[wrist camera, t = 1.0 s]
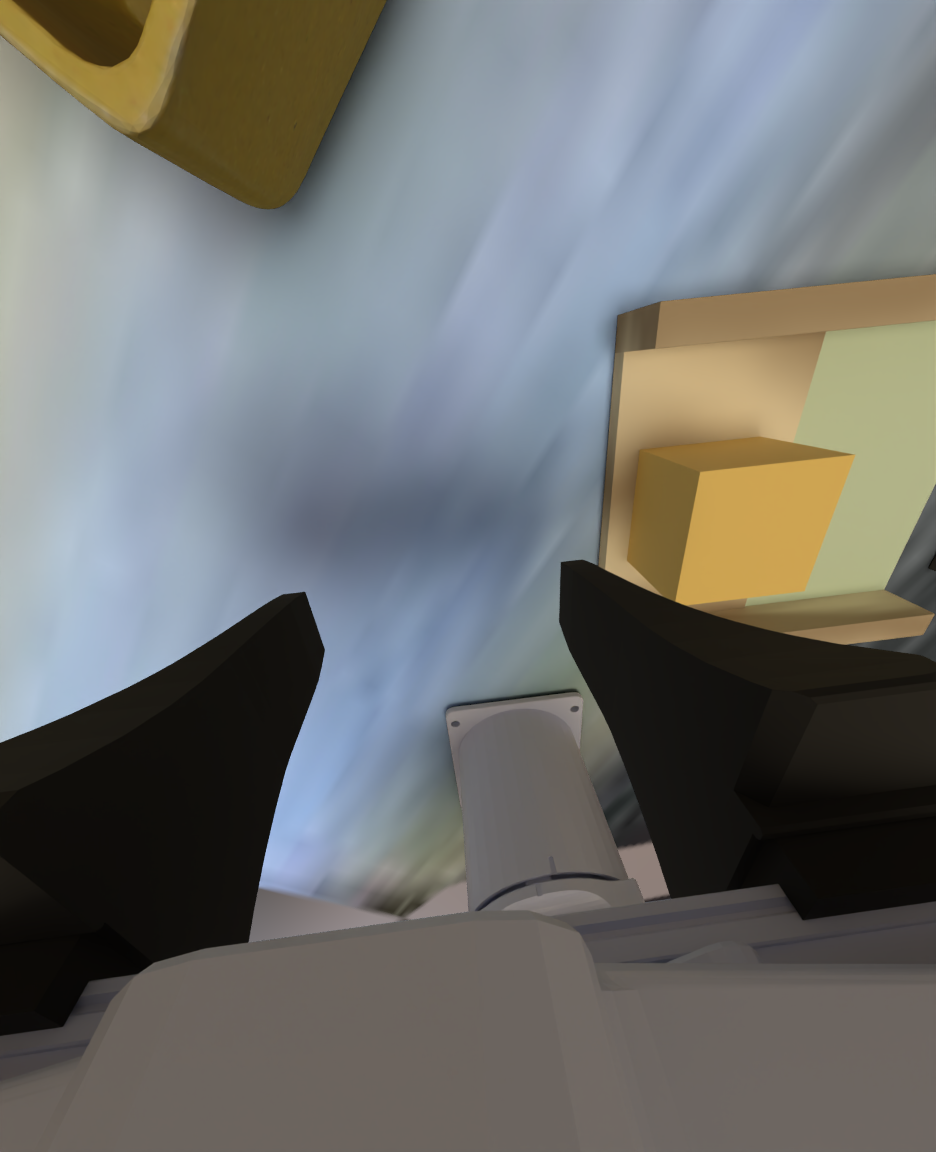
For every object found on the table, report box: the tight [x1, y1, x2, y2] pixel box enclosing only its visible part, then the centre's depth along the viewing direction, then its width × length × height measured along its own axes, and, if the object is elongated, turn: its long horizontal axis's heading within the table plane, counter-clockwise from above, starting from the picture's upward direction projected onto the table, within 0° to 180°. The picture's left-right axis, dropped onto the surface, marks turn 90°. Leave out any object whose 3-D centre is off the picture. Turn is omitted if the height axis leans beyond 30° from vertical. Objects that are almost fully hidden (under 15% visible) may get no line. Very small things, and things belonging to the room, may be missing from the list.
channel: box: [598, 274, 936, 645], centre depth 16 cm, size 14×15×3 cm
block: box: [627, 436, 855, 605], centre depth 15 cm, size 5×5×4 cm
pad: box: [745, 320, 936, 606], centre depth 17 cm, size 12×8×1 cm, turn 5°
